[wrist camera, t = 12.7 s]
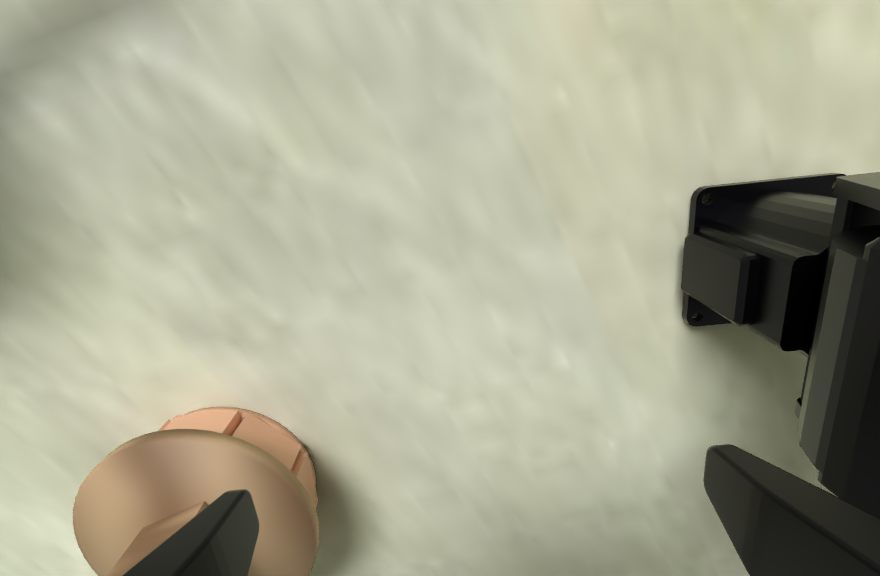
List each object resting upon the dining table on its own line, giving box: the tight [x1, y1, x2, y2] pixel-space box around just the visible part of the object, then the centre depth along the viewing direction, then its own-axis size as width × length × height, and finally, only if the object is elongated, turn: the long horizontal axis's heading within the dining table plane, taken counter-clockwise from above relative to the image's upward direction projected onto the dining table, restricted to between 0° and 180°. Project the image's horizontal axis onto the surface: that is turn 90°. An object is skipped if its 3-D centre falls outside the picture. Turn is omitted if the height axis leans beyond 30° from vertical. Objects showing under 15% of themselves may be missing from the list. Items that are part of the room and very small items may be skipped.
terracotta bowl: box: [159, 407, 318, 508], centre depth 23 cm, size 9×9×3 cm
